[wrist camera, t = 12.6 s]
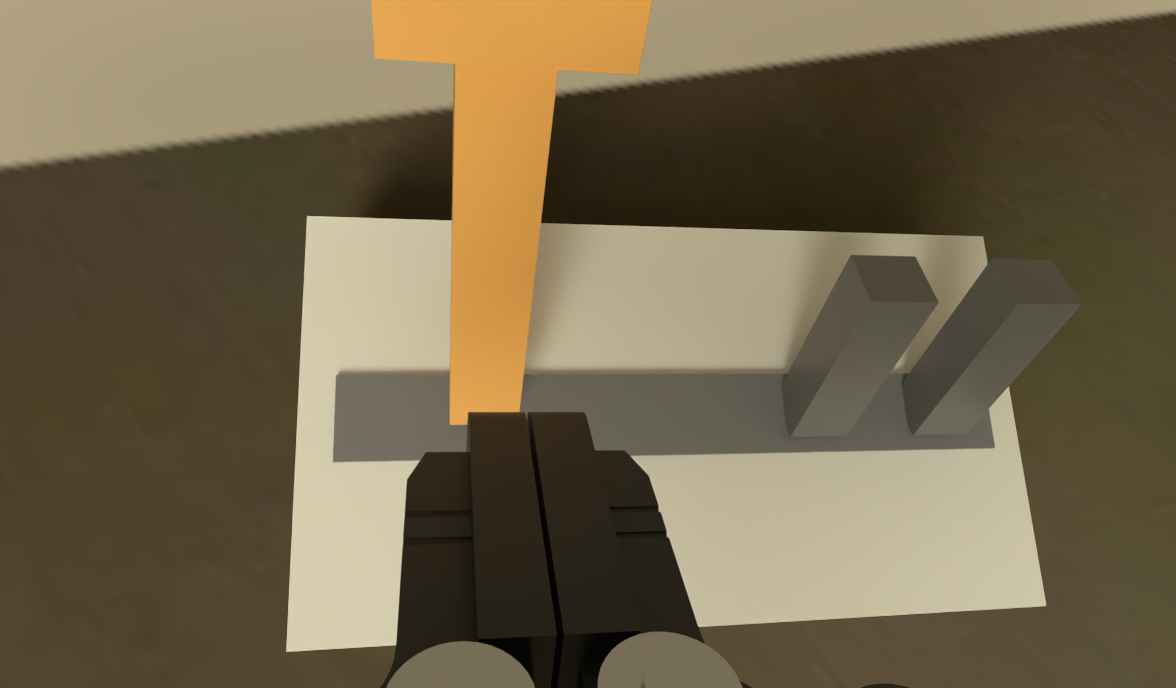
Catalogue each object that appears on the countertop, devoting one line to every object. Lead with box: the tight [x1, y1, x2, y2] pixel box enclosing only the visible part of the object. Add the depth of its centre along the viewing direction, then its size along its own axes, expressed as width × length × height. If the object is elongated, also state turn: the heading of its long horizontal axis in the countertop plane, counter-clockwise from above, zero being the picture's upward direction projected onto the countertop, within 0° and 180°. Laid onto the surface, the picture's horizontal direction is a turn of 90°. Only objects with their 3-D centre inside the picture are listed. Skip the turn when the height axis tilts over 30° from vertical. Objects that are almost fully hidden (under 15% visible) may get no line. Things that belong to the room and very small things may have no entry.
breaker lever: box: [371, 0, 652, 425], centre depth 17 cm, size 4×3×13 cm, turn 92°
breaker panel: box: [286, 216, 1082, 652], centre depth 24 cm, size 22×12×12 cm, turn 92°
